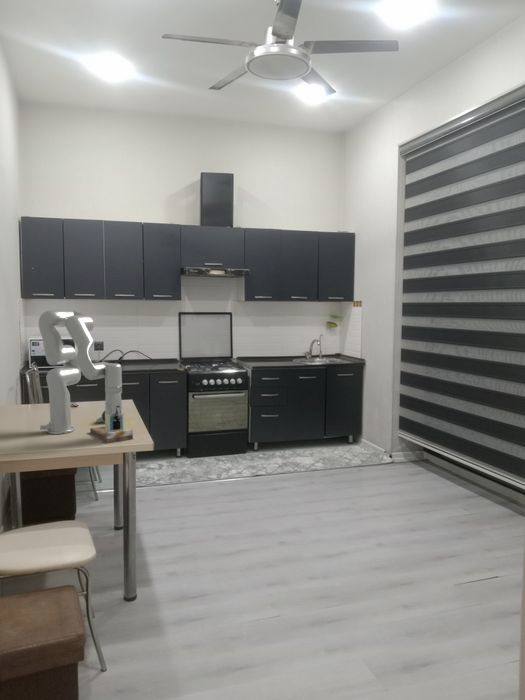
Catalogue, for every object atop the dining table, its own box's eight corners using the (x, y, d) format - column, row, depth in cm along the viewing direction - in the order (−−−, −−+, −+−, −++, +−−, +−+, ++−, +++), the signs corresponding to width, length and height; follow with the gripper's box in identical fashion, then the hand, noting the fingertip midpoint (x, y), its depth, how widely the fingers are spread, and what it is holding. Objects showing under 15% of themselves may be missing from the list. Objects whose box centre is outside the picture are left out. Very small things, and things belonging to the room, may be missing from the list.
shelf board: (107, 443, 231) (107, 433, 231) (90, 432, 251) (90, 423, 250) (133, 439, 239) (132, 429, 238) (114, 429, 258) (114, 420, 258)
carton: (105, 431, 241) (104, 412, 240) (119, 429, 245) (119, 410, 244) (109, 433, 236) (108, 414, 236) (123, 431, 241) (123, 412, 240)
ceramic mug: (117, 419, 279) (117, 406, 278) (116, 423, 271) (116, 408, 270) (97, 421, 276) (96, 407, 276) (95, 424, 268) (95, 410, 268)
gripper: (99, 388, 243) (100, 425, 245) (112, 393, 230) (113, 433, 231) (114, 386, 248) (115, 423, 250) (128, 391, 234) (129, 430, 236)
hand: (114, 427), depth 240 cm, fingers closed on carton, 5 cm apart
